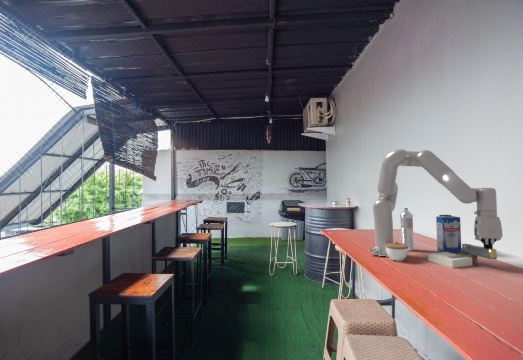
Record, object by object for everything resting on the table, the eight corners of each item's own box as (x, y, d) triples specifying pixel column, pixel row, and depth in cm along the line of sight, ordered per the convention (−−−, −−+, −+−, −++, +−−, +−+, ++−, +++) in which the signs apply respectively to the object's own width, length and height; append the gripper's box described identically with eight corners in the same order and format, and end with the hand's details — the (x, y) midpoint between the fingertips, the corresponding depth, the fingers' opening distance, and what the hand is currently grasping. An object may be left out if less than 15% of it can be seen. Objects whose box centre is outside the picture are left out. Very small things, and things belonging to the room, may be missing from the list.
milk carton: (443, 253, 163) (442, 217, 164) (437, 250, 169) (436, 216, 170) (461, 252, 163) (460, 217, 163) (454, 250, 169) (453, 216, 169)
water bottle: (411, 248, 176) (409, 207, 176) (415, 251, 169) (414, 208, 170) (399, 248, 177) (397, 207, 177) (403, 251, 170) (402, 208, 170)
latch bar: (460, 252, 144) (460, 243, 144) (466, 251, 145) (466, 243, 145) (492, 259, 129) (492, 250, 129) (499, 258, 130) (498, 249, 130)
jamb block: (471, 264, 139) (470, 255, 140) (459, 261, 145) (459, 252, 145) (477, 264, 141) (477, 254, 141) (465, 261, 146) (465, 251, 146)
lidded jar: (386, 261, 148) (386, 243, 149) (385, 256, 159) (384, 239, 159) (410, 263, 145) (409, 244, 145) (406, 257, 155) (406, 240, 155)
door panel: (452, 267, 135) (452, 259, 135) (428, 260, 149) (427, 253, 149) (472, 265, 138) (472, 257, 138) (446, 258, 152) (446, 251, 152)
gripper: (474, 214, 135) (476, 254, 134) (509, 214, 133) (511, 254, 133) (465, 213, 142) (466, 250, 142) (498, 212, 141) (499, 250, 140)
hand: (488, 252), depth 137 cm, fingers closed
